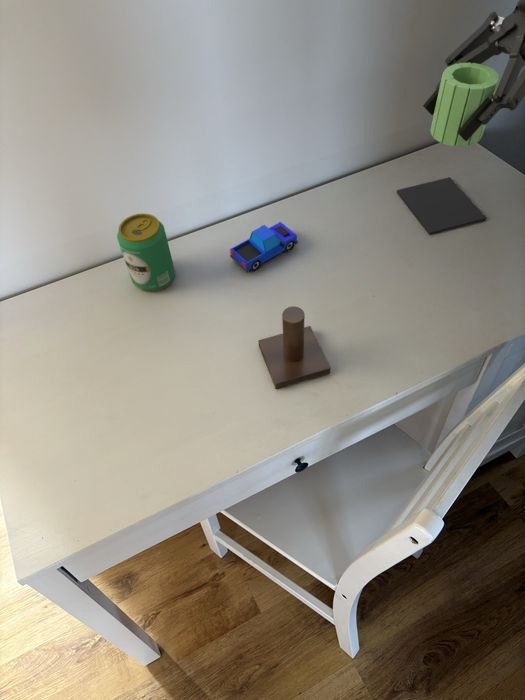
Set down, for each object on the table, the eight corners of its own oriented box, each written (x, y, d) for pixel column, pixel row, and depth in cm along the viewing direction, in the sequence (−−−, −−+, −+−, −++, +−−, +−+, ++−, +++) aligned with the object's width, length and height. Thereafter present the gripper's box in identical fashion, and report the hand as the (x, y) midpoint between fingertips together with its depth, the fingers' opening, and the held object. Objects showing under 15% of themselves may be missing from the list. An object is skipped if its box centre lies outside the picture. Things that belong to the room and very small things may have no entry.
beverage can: (123, 285, 98) (105, 234, 88) (148, 257, 102) (133, 206, 92) (159, 299, 95) (144, 248, 86) (184, 270, 99) (172, 218, 90)
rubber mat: (485, 220, 103) (486, 217, 103) (429, 235, 102) (429, 232, 101) (449, 179, 112) (449, 176, 111) (396, 192, 110) (396, 189, 109)
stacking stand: (330, 373, 84) (334, 329, 75) (275, 389, 82) (273, 346, 74) (310, 331, 89) (311, 285, 80) (258, 345, 88) (254, 300, 79)
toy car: (300, 249, 101) (300, 228, 97) (249, 278, 97) (247, 258, 93) (278, 231, 104) (277, 210, 101) (228, 258, 100) (225, 238, 97)
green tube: (473, 151, 90) (490, 93, 82) (423, 139, 93) (435, 82, 85) (487, 126, 94) (505, 68, 86) (440, 115, 97) (453, 58, 89)
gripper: (614, 37, 78) (494, 165, 88) (514, -11, 90) (417, 105, 100) (603, 5, 73) (476, 144, 82) (498, -42, 85) (397, 84, 94)
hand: (444, 123), depth 91 cm, fingers closed on green tube, 9 cm apart
